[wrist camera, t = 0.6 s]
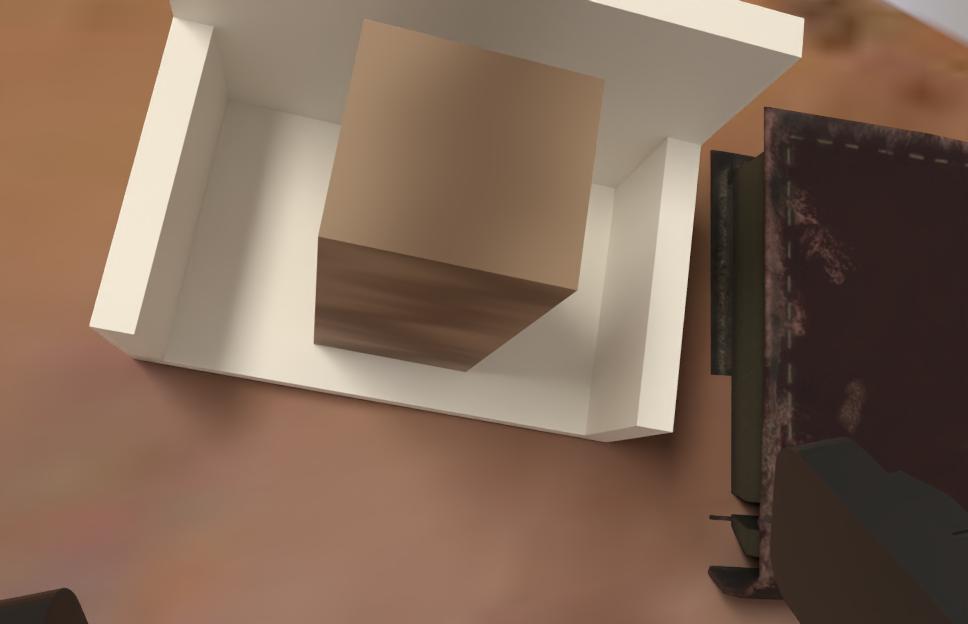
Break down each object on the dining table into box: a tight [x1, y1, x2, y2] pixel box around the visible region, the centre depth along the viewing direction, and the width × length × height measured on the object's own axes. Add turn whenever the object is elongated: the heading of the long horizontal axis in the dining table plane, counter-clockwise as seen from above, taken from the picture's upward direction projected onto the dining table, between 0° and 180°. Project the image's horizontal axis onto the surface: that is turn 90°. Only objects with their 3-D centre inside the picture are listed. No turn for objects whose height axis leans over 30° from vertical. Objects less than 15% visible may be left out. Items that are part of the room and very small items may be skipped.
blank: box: [314, 18, 605, 372], centre depth 24 cm, size 6×5×13 cm
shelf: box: [89, 0, 804, 442], centre depth 26 cm, size 17×11×12 cm, turn 81°
